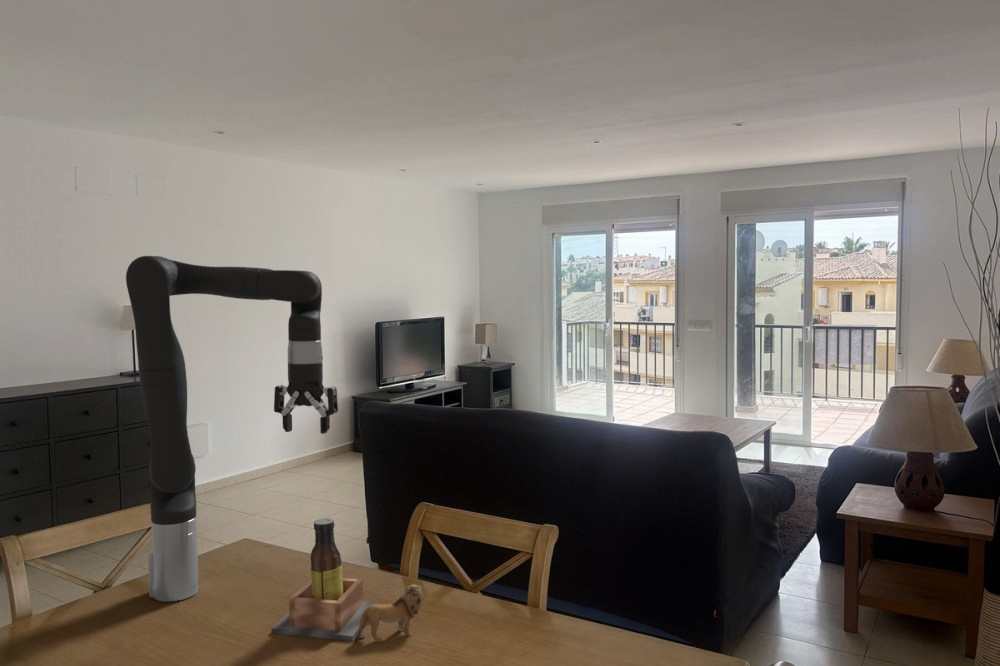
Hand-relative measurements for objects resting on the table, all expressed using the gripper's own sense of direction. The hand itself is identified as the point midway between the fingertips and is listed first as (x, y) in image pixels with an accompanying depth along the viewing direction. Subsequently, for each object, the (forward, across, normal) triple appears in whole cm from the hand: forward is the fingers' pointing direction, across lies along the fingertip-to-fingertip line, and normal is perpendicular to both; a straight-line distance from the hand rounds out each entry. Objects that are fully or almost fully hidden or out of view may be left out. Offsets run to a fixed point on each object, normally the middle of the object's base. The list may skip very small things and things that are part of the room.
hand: (306, 432), depth 162 cm
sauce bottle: (+35, +10, -13) cm, 39 cm away
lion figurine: (+36, +25, -17) cm, 47 cm away
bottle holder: (+36, +10, -14) cm, 40 cm away
